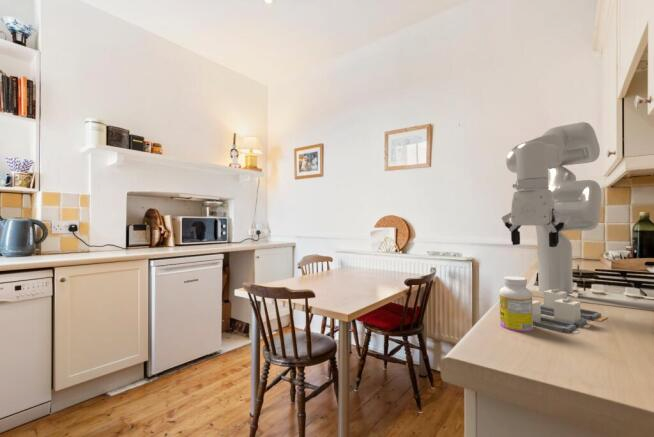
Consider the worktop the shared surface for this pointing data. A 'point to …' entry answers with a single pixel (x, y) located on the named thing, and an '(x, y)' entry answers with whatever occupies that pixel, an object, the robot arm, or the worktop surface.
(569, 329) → the switch board
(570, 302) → the white block with ridge
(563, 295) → the white switch slider block
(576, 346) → the worktop surface
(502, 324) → the supplement bottle
